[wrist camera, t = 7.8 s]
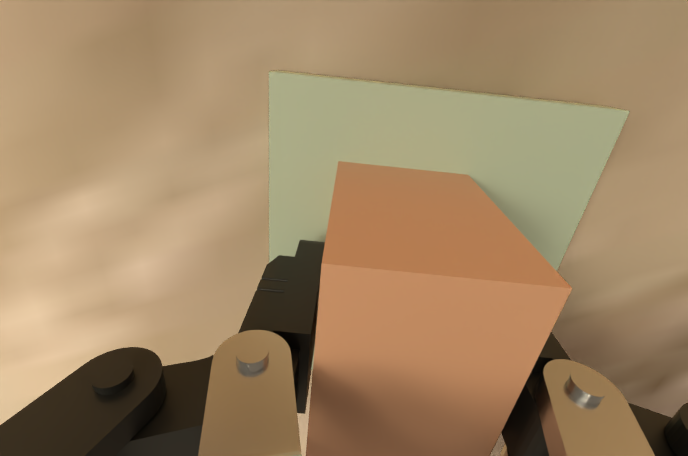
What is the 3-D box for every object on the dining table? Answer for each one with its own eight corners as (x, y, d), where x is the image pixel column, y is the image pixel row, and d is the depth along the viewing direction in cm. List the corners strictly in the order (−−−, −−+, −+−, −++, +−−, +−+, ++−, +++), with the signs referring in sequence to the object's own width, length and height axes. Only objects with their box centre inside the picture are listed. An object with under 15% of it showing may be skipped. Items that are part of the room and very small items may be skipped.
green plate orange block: (275, 70, 9) (166, 94, 4) (608, 106, 9) (939, 177, 4) (273, 349, 14) (222, 532, 8) (495, 370, 14) (580, 564, 8)
